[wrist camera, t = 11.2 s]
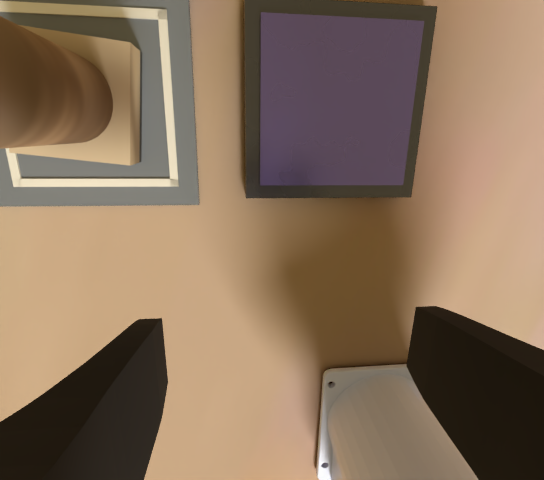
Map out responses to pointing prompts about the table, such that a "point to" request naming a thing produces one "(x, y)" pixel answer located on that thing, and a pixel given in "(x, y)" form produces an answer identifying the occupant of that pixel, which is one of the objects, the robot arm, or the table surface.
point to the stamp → (69, 95)
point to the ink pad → (333, 97)
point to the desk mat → (155, 110)
